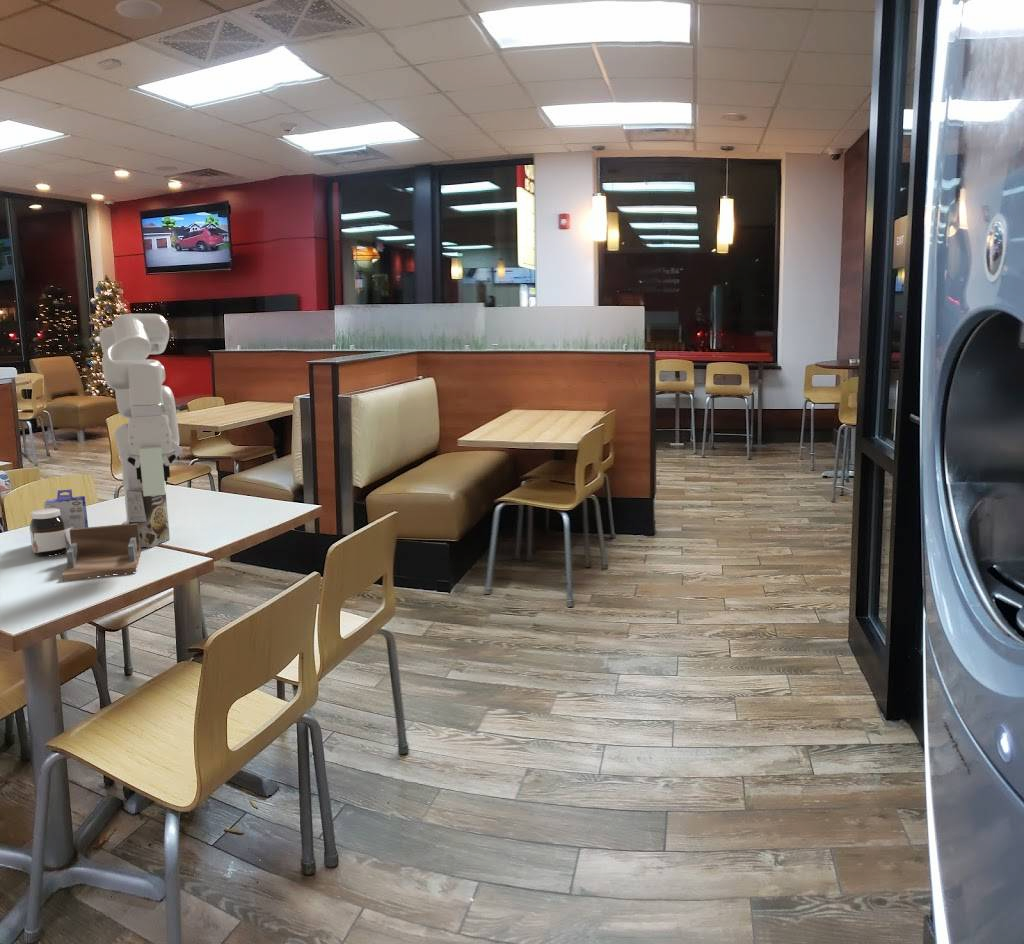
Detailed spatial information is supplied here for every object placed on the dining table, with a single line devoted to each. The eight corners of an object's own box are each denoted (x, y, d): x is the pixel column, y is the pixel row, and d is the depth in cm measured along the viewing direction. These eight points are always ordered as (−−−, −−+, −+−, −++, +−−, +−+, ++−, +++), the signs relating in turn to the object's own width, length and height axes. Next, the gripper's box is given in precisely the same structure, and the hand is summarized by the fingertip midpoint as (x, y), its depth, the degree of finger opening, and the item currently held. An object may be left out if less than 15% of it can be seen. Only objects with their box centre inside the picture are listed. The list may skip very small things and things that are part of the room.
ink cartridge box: (90, 536, 234) (84, 487, 231) (88, 541, 229) (82, 491, 226) (51, 539, 230) (45, 490, 228) (48, 544, 225) (42, 494, 223)
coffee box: (151, 548, 221) (145, 491, 218) (130, 547, 222) (124, 490, 219) (171, 539, 230) (166, 484, 227) (151, 538, 231) (145, 483, 228)
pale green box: (145, 488, 211) (141, 443, 209) (166, 486, 213) (162, 442, 211) (143, 496, 202) (139, 449, 200) (165, 494, 204) (160, 448, 201)
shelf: (74, 560, 211) (70, 528, 209) (140, 553, 216) (137, 523, 215) (63, 580, 194) (59, 547, 193) (135, 573, 200) (132, 540, 198)
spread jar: (29, 552, 219) (24, 510, 216) (74, 543, 226) (69, 503, 224) (42, 561, 210) (36, 518, 208) (88, 552, 218) (83, 510, 216)
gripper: (184, 407, 210) (189, 476, 213) (111, 411, 204) (118, 481, 207) (183, 411, 203) (189, 481, 207) (108, 414, 197) (116, 486, 200)
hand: (154, 480), depth 207 cm, fingers closed on pale green box, 5 cm apart
